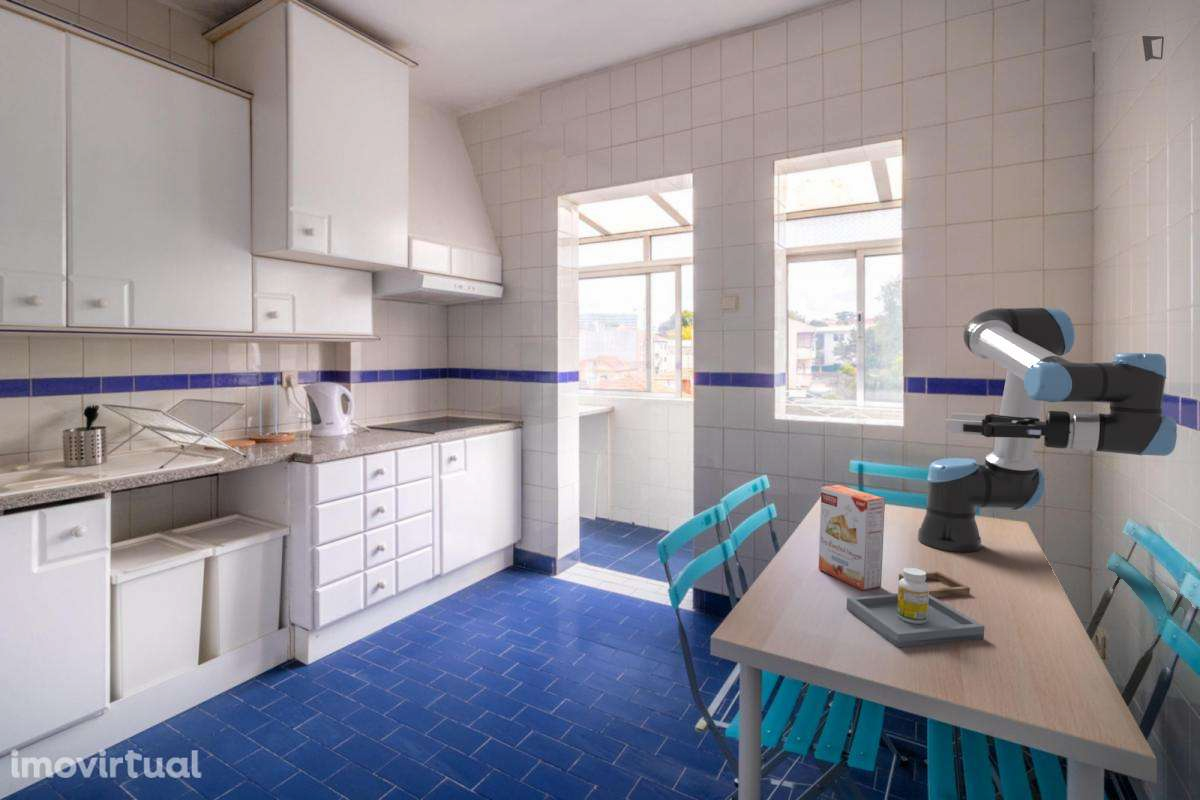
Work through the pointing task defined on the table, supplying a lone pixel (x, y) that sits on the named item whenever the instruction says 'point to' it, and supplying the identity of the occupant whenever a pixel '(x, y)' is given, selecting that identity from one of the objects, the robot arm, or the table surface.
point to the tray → (938, 628)
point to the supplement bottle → (913, 596)
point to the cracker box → (851, 536)
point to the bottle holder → (954, 588)
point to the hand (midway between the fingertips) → (948, 422)
